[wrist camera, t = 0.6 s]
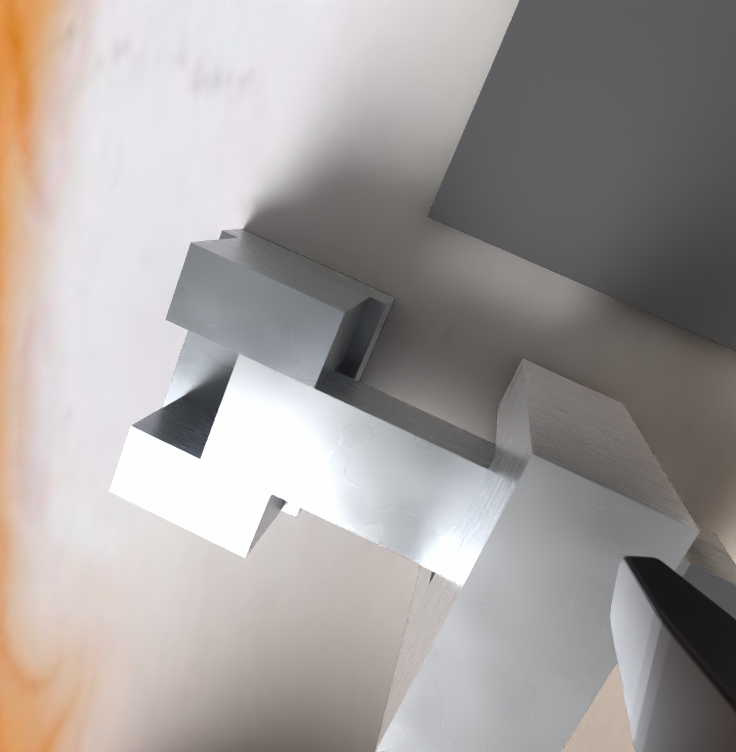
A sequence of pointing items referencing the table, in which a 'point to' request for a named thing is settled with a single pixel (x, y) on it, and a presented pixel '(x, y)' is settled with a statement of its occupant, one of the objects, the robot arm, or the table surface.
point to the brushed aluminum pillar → (532, 577)
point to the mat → (611, 153)
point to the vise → (308, 419)
